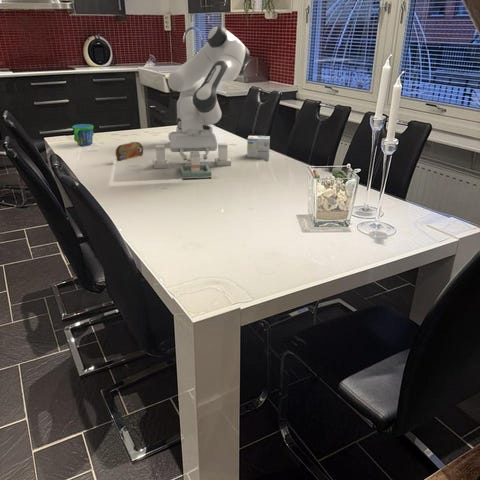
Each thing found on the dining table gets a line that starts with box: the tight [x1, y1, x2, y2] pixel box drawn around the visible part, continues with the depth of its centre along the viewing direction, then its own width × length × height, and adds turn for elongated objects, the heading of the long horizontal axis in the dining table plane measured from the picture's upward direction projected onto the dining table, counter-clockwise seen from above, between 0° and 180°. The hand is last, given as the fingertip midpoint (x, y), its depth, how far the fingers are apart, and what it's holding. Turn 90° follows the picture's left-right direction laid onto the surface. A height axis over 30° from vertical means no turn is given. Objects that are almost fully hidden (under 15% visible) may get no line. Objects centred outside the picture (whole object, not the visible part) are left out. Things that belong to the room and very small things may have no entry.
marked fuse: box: [189, 151, 201, 172], centre depth 198 cm, size 4×4×9 cm
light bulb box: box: [246, 135, 271, 161], centre depth 226 cm, size 11×7×11 cm, turn 84°
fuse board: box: [153, 156, 232, 170], centre depth 210 cm, size 9×34×4 cm, turn 102°
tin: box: [115, 141, 144, 161], centre depth 220 cm, size 15×3×8 cm, turn 143°
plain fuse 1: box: [155, 144, 166, 163], centre depth 206 cm, size 4×4×9 cm
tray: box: [179, 165, 212, 181], centre depth 200 cm, size 12×12×3 cm
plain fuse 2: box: [217, 142, 228, 161], centre depth 211 cm, size 4×4×9 cm
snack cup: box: [71, 123, 95, 147], centre depth 248 cm, size 16×10×10 cm
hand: (195, 159), depth 197 cm, fingers open, 7 cm apart
